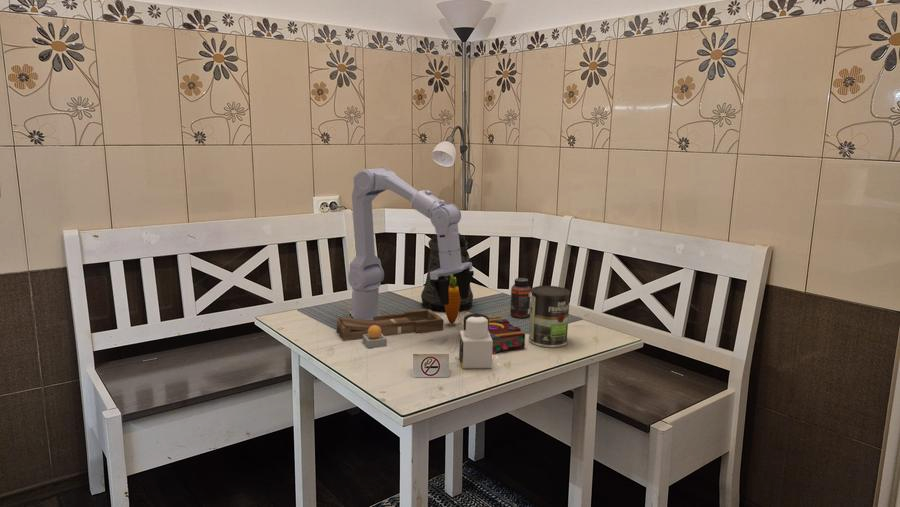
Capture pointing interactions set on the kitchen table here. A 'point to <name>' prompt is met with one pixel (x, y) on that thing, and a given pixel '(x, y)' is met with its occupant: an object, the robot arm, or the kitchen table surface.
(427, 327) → the brown wooden shallow tray
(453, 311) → the carrot
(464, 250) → the beer stein
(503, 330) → the decorative book
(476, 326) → the medicine bottle
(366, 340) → the gray box
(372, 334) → the ball
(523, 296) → the supplement bottle
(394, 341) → the kitchen table surface
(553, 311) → the coffee can
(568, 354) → the kitchen table surface
